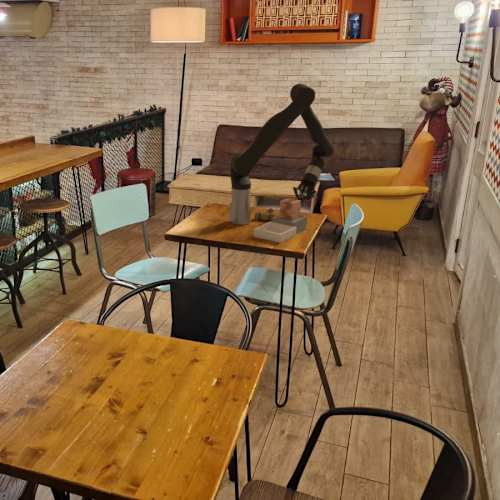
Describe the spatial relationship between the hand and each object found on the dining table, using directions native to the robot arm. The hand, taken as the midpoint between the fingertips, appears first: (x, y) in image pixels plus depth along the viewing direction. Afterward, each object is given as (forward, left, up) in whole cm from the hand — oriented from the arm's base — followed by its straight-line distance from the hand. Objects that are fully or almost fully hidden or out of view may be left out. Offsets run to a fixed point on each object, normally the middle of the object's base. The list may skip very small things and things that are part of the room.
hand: (298, 205), depth 228 cm
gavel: (-20, +6, -10) cm, 23 cm away
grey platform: (0, -8, -10) cm, 13 cm away
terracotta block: (0, -8, -4) cm, 9 cm away
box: (0, -21, -10) cm, 23 cm away
